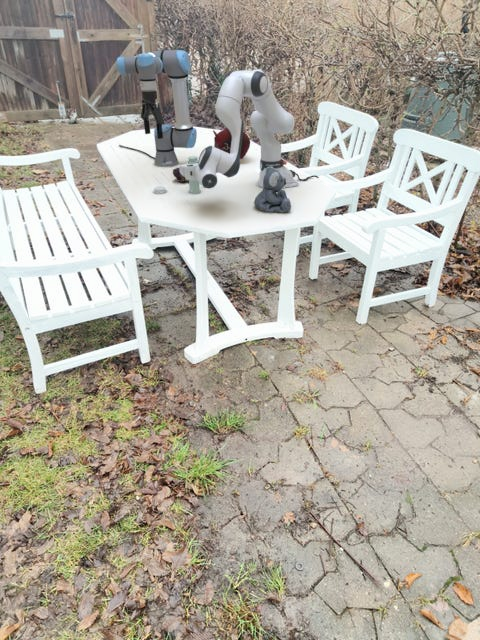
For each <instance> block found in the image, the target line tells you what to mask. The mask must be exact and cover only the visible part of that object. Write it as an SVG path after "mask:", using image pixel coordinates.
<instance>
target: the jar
mask: <svg viewBox="0 0 480 640" xmlns="http://www.w3.org/2000/svg"><path fill="white" fill-rule="evenodd" d="M187 159H188V160H187V163H190V164H195V163H198V160H199V159H198V157H197V156H193V155H192V156H189V157H187ZM188 185H189V193H190V194H193V195H195V194H199V193H201V185H200V183H199V182H198V181H195V180H189V181H188Z"/></svg>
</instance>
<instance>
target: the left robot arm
mask: <svg viewBox="0 0 480 640" xmlns="http://www.w3.org/2000/svg"><path fill="white" fill-rule="evenodd" d="M115 64H116V69H117V72H118V73H119V75H138V76H139V81H140V83H139V86H140V90H141V92H140V93H141V112H140V118H141V119H142V121H143V126H144V134H145V135H150V134H151V126H150V124H151V123H150V113H151V114H152V115H153V118H154V120H155V123H156V124H155V128H154V129H153V133H154V134H153V136H154V145H155V155H154V156H152V155H150V154H149V153H147V152H145V151H143V150H141V149H137V148H132V147H129V146H125V145H121V144H118V146H119V147H121V148H125V149H130V150H132V151H136V152H140V153H142V154H144V155H147V156H148V157H150V158H151V159H154V160H153V161H154V165H155V166H157V167H163V168H164V167H165V168H167V167H168V168H169V167H174V166H177V165H178V164H179V159H178V157H177V153H176V151H175V149H176V148H177V149H178V148H179V149H180V148H181V149H193V148H194V147H195V146H196V142H197V138H198V137H197V136H198V133H197V131H198V130H197V128H195V127H194V125H193V123H192V122H191V117H190V108H189V96H188V87H187V85H188V84H187V79H188V78H189V74H191V71H192V68H191V67H192V66H191V65H192V64H191V59H190V56H189V54H188V52H187V51H186V50H182V49H159V50H154V51H149V52H145V53H139V54H137V55H134V56H117V59H116V63H115ZM159 74H167V78H168V80H170V82H171V89H172V90H171V91H172V99H173V107H174V114H175V123H174V126H173V125H172V124H165V121H164V118H163V114H162V111H161V107H160V103H159V102H156V100H158V91H157V89H158V88H157V78H156V75H159Z"/></svg>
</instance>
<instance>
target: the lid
mask: <svg viewBox="0 0 480 640" xmlns="http://www.w3.org/2000/svg"><path fill="white" fill-rule="evenodd" d="M166 192H167V188H166V186H163V185H160V186H159V185H158V186H154V187H153V193H155V194H159V195H160V194H165V193H166Z"/></svg>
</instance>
